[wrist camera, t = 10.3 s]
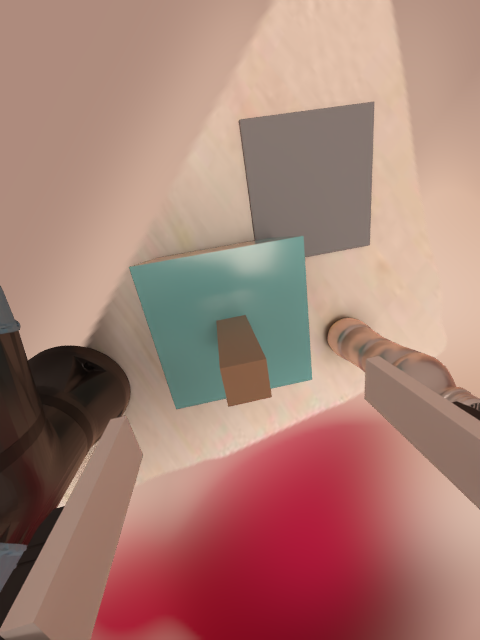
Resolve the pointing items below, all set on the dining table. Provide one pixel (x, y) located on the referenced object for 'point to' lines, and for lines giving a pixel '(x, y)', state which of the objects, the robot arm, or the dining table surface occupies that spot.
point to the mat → (311, 176)
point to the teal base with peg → (229, 319)
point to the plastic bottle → (395, 358)
